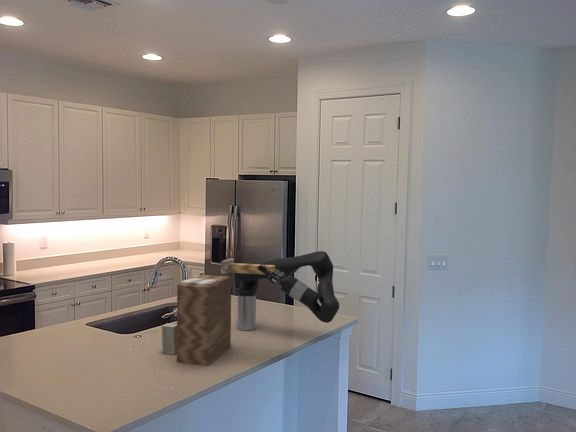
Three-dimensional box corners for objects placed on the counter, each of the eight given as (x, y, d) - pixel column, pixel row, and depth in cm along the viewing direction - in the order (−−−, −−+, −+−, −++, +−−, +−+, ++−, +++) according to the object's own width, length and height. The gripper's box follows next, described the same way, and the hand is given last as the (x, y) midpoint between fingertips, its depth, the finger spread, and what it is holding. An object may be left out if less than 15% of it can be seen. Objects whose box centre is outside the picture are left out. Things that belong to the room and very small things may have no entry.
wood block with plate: (277, 272, 219) (277, 260, 219) (270, 276, 211) (270, 264, 210) (228, 269, 225) (228, 258, 225) (220, 273, 216) (220, 261, 216)
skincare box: (179, 351, 223) (179, 324, 222) (174, 355, 219) (174, 327, 218) (167, 349, 225) (167, 322, 224) (161, 353, 221) (161, 325, 220)
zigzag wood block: (230, 347, 230) (231, 274, 228) (208, 365, 207) (209, 285, 205) (201, 344, 234) (202, 272, 231) (176, 362, 211) (177, 282, 208)
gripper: (302, 277, 219) (269, 255, 222) (294, 284, 206) (259, 260, 209) (294, 292, 221) (261, 270, 224) (285, 299, 207) (250, 276, 210)
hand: (260, 265), depth 216 cm, fingers closed on wood block with plate, 3 cm apart
